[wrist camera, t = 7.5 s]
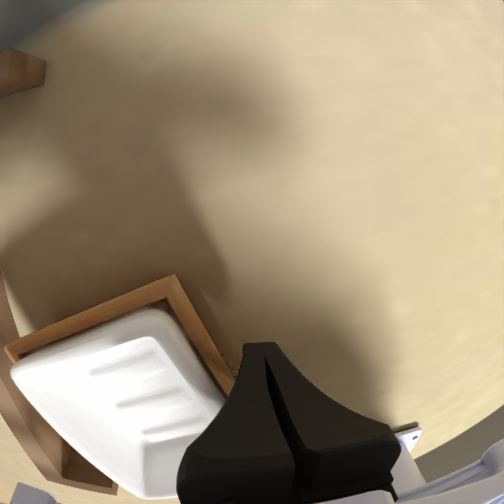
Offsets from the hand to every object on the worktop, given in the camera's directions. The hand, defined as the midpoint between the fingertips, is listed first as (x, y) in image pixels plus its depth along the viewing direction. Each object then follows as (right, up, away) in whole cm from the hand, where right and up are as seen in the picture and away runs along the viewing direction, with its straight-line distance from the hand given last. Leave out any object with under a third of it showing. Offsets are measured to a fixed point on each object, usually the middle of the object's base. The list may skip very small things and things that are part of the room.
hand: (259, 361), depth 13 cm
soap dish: (-6, -2, +4) cm, 7 cm away
